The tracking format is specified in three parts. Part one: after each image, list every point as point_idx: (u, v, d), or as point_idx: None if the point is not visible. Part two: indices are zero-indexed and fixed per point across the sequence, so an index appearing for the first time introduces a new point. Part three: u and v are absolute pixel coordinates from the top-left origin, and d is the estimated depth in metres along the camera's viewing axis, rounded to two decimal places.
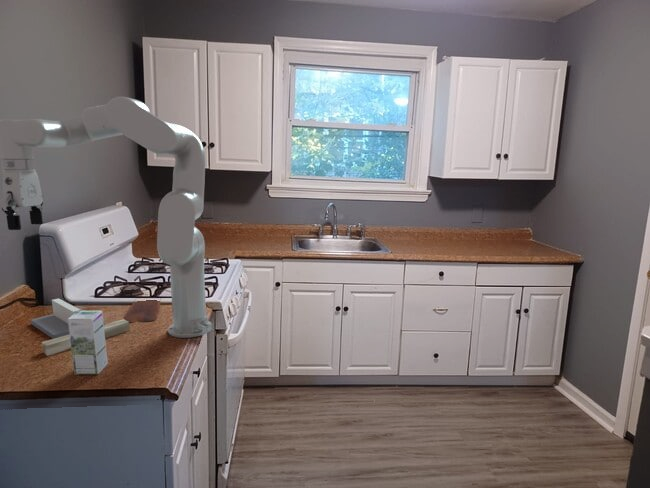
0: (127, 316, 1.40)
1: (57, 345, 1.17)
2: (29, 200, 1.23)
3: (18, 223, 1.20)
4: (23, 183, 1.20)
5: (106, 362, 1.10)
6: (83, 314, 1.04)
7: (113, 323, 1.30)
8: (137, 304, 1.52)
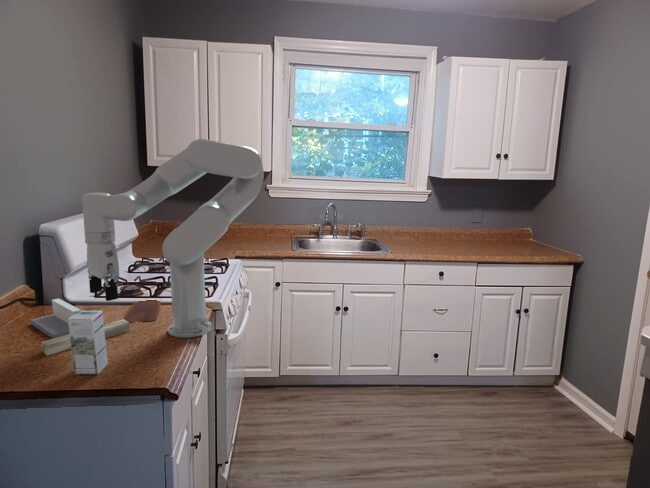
0: (127, 316, 1.40)
1: (57, 345, 1.17)
2: None
3: (116, 292, 1.24)
4: None
5: (106, 362, 1.10)
6: (83, 314, 1.04)
7: (113, 323, 1.30)
8: (138, 304, 1.52)
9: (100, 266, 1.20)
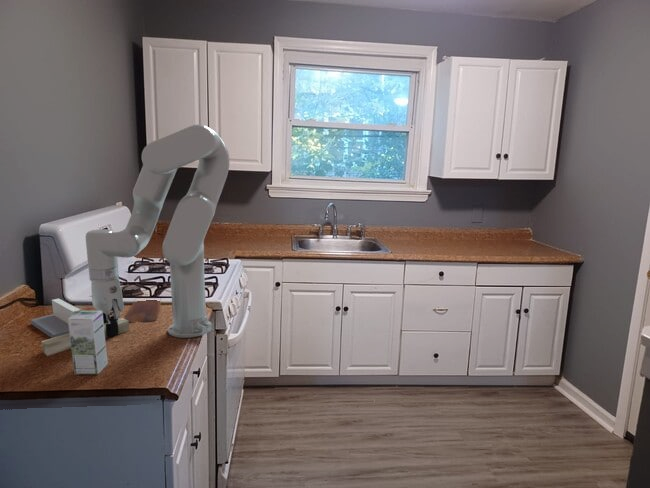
0: (127, 316, 1.40)
1: (57, 344, 1.17)
2: None
3: (117, 328, 1.28)
4: None
5: (106, 362, 1.10)
6: (83, 314, 1.04)
7: None
8: (138, 304, 1.52)
9: (105, 302, 1.23)
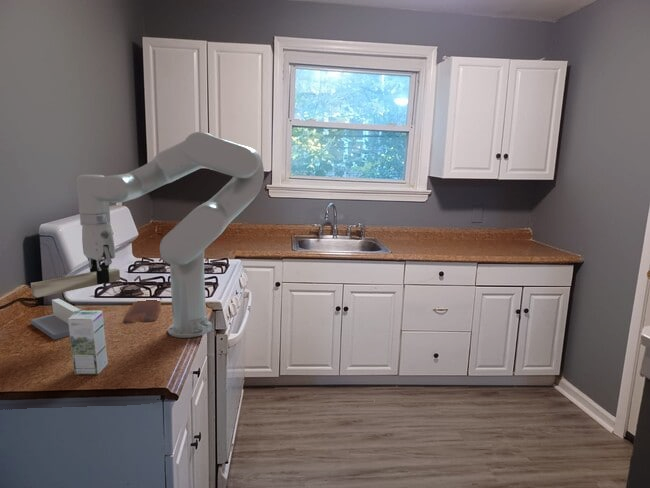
0: (128, 316, 1.40)
1: (47, 287, 1.15)
2: None
3: (108, 276, 1.27)
4: None
5: (106, 362, 1.10)
6: (84, 314, 1.04)
7: None
8: (138, 304, 1.52)
9: (96, 247, 1.21)
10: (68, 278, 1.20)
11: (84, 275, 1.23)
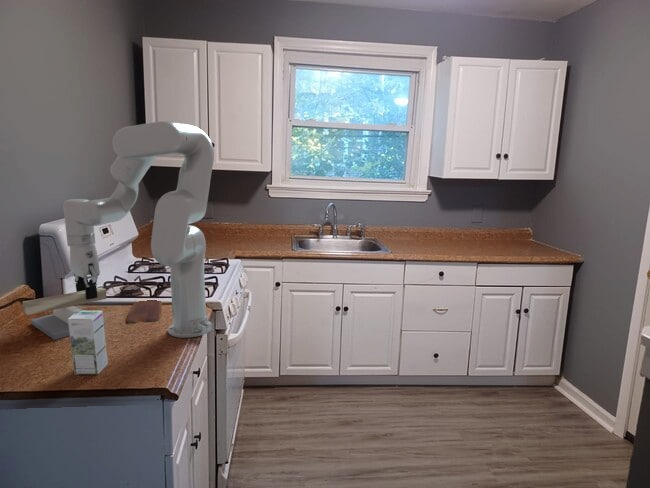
0: (130, 316, 1.40)
1: (37, 305, 1.26)
2: None
3: (96, 292, 1.36)
4: None
5: (106, 362, 1.10)
6: (84, 314, 1.04)
7: None
8: (139, 305, 1.52)
9: (81, 266, 1.32)
10: (57, 297, 1.31)
11: (72, 294, 1.34)
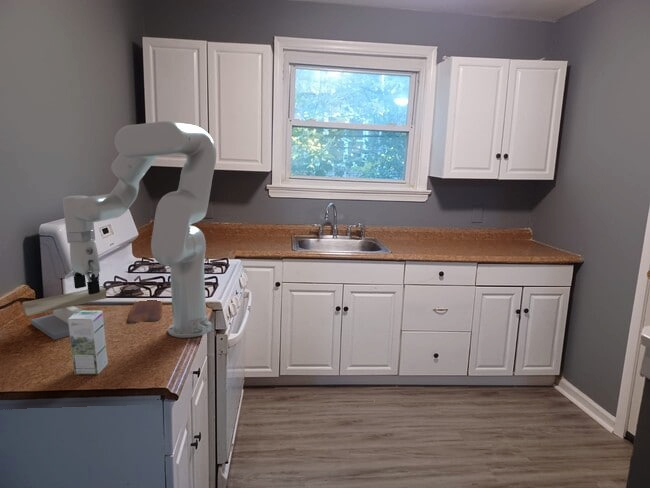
0: (131, 316, 1.40)
1: (37, 306, 1.26)
2: None
3: (98, 287, 1.35)
4: None
5: (106, 362, 1.10)
6: (84, 314, 1.04)
7: None
8: (139, 305, 1.52)
9: (82, 263, 1.32)
10: (57, 297, 1.31)
11: (72, 294, 1.34)
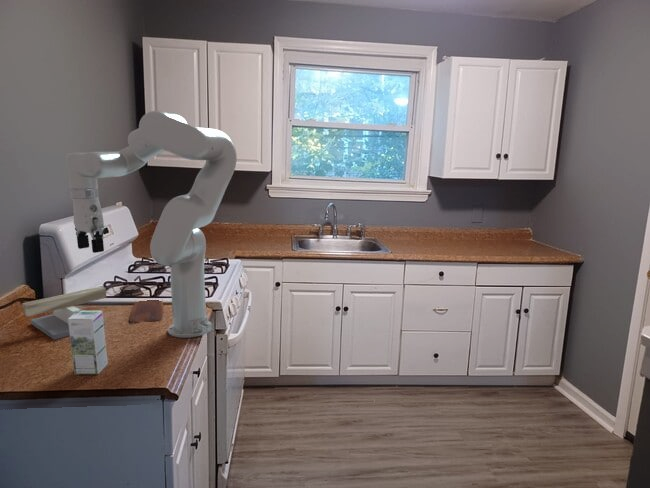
0: (132, 316, 1.40)
1: (37, 306, 1.26)
2: None
3: (102, 245, 1.34)
4: None
5: (106, 362, 1.10)
6: (84, 314, 1.04)
7: (91, 289, 1.39)
8: (140, 305, 1.52)
9: (86, 220, 1.30)
10: (57, 297, 1.31)
11: (72, 294, 1.34)
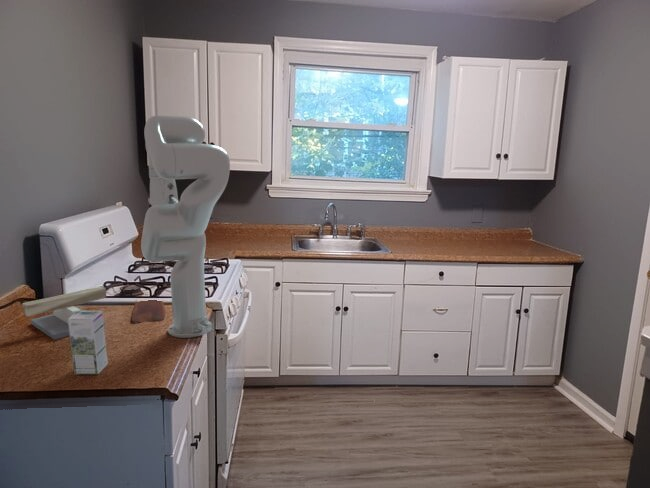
0: (135, 316, 1.40)
1: (37, 306, 1.26)
2: None
3: None
4: None
5: (106, 362, 1.10)
6: (83, 314, 1.04)
7: (91, 289, 1.39)
8: (141, 305, 1.52)
9: (163, 197, 1.42)
10: (57, 297, 1.31)
11: (72, 294, 1.34)
